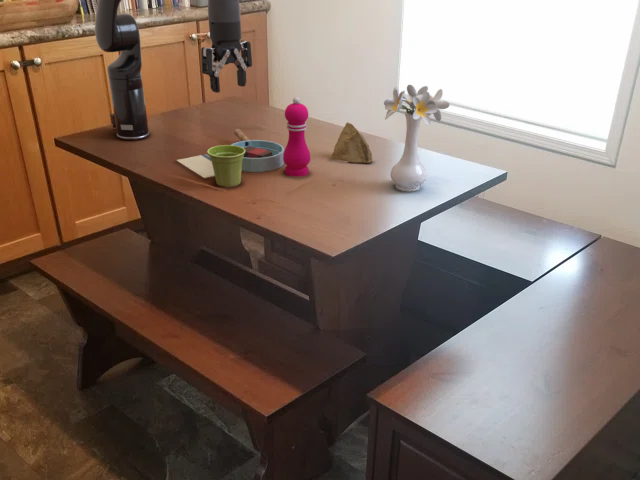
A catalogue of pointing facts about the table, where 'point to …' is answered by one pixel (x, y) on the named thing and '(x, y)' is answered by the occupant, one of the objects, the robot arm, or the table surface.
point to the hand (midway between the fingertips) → (229, 88)
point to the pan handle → (241, 136)
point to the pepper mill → (296, 140)
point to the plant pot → (227, 164)
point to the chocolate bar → (256, 152)
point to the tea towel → (199, 165)
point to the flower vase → (413, 132)
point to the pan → (262, 163)
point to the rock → (352, 146)
